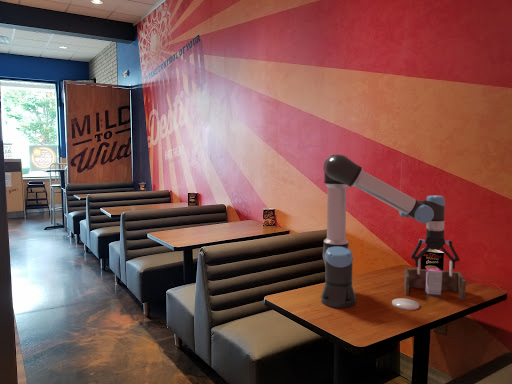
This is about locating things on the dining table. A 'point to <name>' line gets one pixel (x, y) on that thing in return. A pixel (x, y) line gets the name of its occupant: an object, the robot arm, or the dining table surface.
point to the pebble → (405, 304)
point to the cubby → (448, 282)
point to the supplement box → (433, 281)
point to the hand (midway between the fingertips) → (434, 274)
